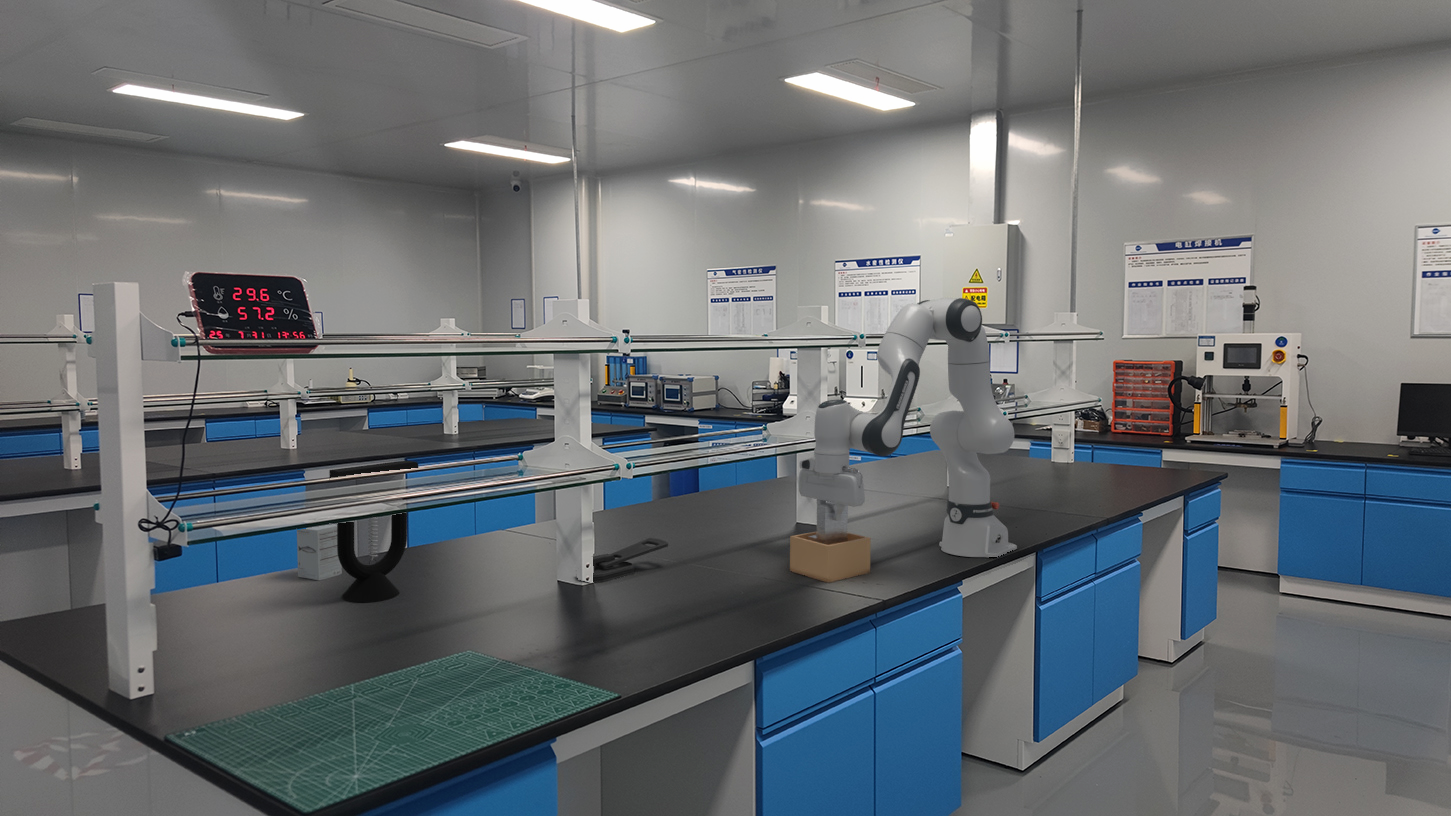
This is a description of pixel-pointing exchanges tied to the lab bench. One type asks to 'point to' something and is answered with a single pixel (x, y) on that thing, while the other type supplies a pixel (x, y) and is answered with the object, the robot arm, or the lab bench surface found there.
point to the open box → (830, 557)
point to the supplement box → (318, 552)
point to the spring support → (372, 577)
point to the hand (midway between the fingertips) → (830, 518)
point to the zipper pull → (622, 560)
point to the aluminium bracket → (830, 525)
